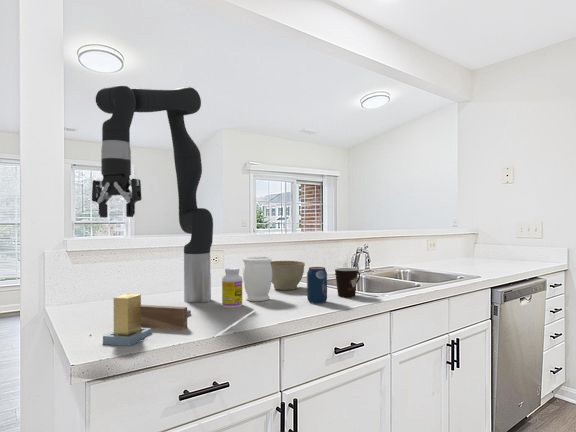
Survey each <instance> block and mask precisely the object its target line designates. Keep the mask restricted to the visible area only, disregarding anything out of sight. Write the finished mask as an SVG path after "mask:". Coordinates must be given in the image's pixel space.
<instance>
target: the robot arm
mask: <svg viewBox="0 0 576 432" xmlns="http://www.w3.org/2000/svg"><path fill="white" fill-rule="evenodd" d="M95 103H96V106H97V107H98V108H99V110H100V111H102V112H103V113H106V114H110V115H111V117H110V118H108V119H106V120H105V121H103V123H102V126H101V129H102V130H101V131H102V132H101V139H102V140H101V141H102V143H101V150H100V151H101V152H100V153H101V156H100V157H101V158H100V159H101V163H100V164H101V167H100V169H101V173H100V174H101V175H102V180H98V179H94V180H93V181H92V186H91V187H92V191H91V201H92V202H94V203H97V204H98V215H99V217H100V218H107V217H108V204H107V203H108V201H109V200H110V199H111V198H112V197H113V196H121V197H122V198H123V199H124V200H125V202H126V203H125V205H126V206H125V208H126V210H125V212H126V213H125V214H126V215H125V216H126V217H127V218H133V217H134V216H135V214H136V203H137V202H140V201H142V198H143V197H142V184H141V179H140V178H130V176H131V175H132V150H131V142H130V141H131V140H130V135H131V134H130V133H131V132H130V130H131V125H132V121H133V118H134V114H135V113H154V112H162V111H163V112H164V111H166V116H167V120H168V124H169V129H170V134H171V140H172V142H171V143H172V148H173V159H174V168H175V173H176V174H175V175H176V184H177V193H178V195H177V196H178V222H179V226H180V228H181V230H182V231H183V232H184V233H186V234H189V235H190V240H189V242H187V243H185V244H184V246H183V293H184V294H183V300H184V301H183V302H184V303H190V304H191V303H192V304H195V303H196V304H204V303H208V302H210V301H211V299H212V288H211V287H212V284H211V283H212V280H211V279H212V278H211V277H212V276H211V275H212V273H211V248H212V245H213V237H214V236H213V235H214V219H213V215H212V213H211V211H210V210H208V209H207V208H204V207H203V208H202V207H198V203H197V191H198V187H199V184H200V181H201V177H202V174H203V164H202V163H203V162H202V157H201V156H202V155H201V152H200V149H199V147H198V146H197V144H196V143H195V141H194V140H193V138H192V137H191V136H190V134H189V133H188V131H187V128H186V123H185V116H189V115H194V114H196V113H197V112H198V111H200V109H201V107H202V99H201V96H200V94H199V92H198V91H197V90H196V89H195V88H194V87H191V86H184V87H183V86H182V87H179V88H174V89H173V88H172V89H159V88H158V89H157V88H143V87H142V88H141V87H133V88H130V87H129V86H128V85H125V84H120V85H119V84H118V85H114V86H109V87H104V88H100V89H99V90H98V92H97V93H96V94H95ZM130 187H131V189H130Z"/></svg>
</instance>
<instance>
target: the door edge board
mask: <svg viewBox="0 0 576 432" xmlns="http://www.w3.org/2000/svg"><path fill="white" fill-rule="evenodd" d="M187 310H188V306H174V305H171V306H170V305H158V304H157V305H153V304H141V328H153V329H154V328H155V329H169V330H182V331H183V330H185V329H188V316H187Z"/></svg>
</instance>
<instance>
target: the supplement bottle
mask: <svg viewBox="0 0 576 432" xmlns="http://www.w3.org/2000/svg"><path fill="white" fill-rule="evenodd" d="M224 273H225V275H224V276H223V277H222V279H221V294H222V295H221V301H222V303H221V304H222V307H223V308H229V309H230V308H231V309H232V308H240V307H242V306H243V276H240V275H239V274H240V268H239V267H226V268H224Z"/></svg>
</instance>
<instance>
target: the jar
mask: <svg viewBox="0 0 576 432" xmlns="http://www.w3.org/2000/svg"><path fill="white" fill-rule="evenodd" d="M271 261H273V259H272V257H267V256H251V257H244V258H242V262H243V263H244V265H243V269H242V270H243V271H242V281H243V284H244V290H245V294H246V295H247V296H246V297H245V298H246V299H245V300H247V301H249V302H263V301H264V302H265V301H268V300H269V299H270V296H269V294H270V292H271V288H272V282H271V281H272V267H271V264H270V262H271Z"/></svg>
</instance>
